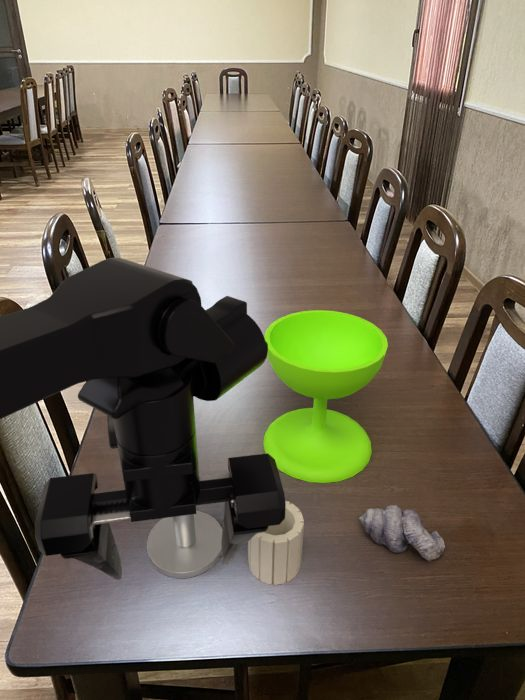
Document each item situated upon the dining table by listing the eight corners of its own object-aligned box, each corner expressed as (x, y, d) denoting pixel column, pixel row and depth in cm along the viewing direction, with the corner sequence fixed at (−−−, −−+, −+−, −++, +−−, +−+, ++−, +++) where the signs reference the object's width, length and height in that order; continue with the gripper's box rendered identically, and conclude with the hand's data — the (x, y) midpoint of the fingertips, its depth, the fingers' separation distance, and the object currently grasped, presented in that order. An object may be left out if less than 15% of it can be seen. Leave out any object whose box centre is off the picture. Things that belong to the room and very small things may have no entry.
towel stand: (147, 584, 59) (138, 529, 55) (147, 520, 67) (140, 468, 62) (228, 572, 61) (226, 518, 56) (220, 511, 68) (217, 459, 64)
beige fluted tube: (252, 588, 59) (252, 546, 55) (245, 543, 64) (244, 502, 60) (306, 580, 60) (309, 538, 56) (294, 537, 65) (296, 495, 61)
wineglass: (325, 398, 89) (334, 300, 79) (395, 455, 77) (414, 348, 68) (242, 432, 81) (241, 328, 72) (305, 500, 70) (314, 387, 61)
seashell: (441, 560, 64) (357, 537, 67) (448, 514, 64) (365, 494, 67) (442, 571, 59) (352, 546, 62) (450, 522, 59) (360, 499, 62)
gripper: (263, 360, 47) (261, 487, 55) (41, 379, 45) (74, 510, 53) (290, 443, 38) (283, 582, 46) (11, 474, 35) (57, 616, 43)
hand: (172, 567), depth 47 cm, fingers open, 9 cm apart
